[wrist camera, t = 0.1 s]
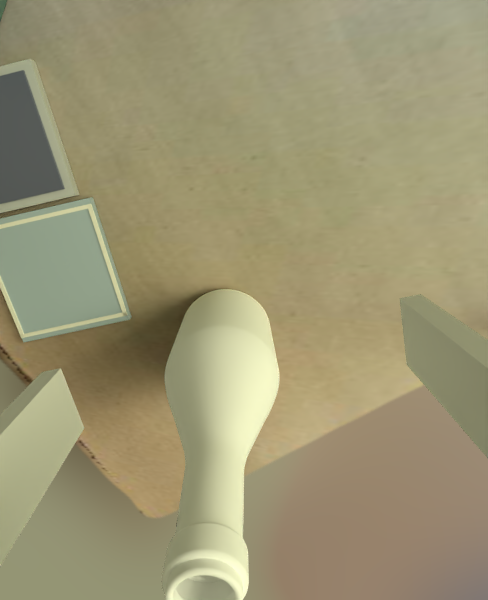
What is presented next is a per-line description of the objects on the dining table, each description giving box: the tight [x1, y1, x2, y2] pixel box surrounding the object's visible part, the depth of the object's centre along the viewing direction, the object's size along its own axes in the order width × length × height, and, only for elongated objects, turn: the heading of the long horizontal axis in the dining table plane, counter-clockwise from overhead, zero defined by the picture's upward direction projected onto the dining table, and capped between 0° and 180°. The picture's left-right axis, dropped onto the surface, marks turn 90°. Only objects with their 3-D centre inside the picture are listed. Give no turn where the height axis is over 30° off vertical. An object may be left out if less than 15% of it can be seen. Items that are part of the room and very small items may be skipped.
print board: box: [0, 197, 131, 342], centre depth 42 cm, size 13×12×1 cm
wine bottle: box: [162, 289, 279, 600], centre depth 31 cm, size 10×10×30 cm
